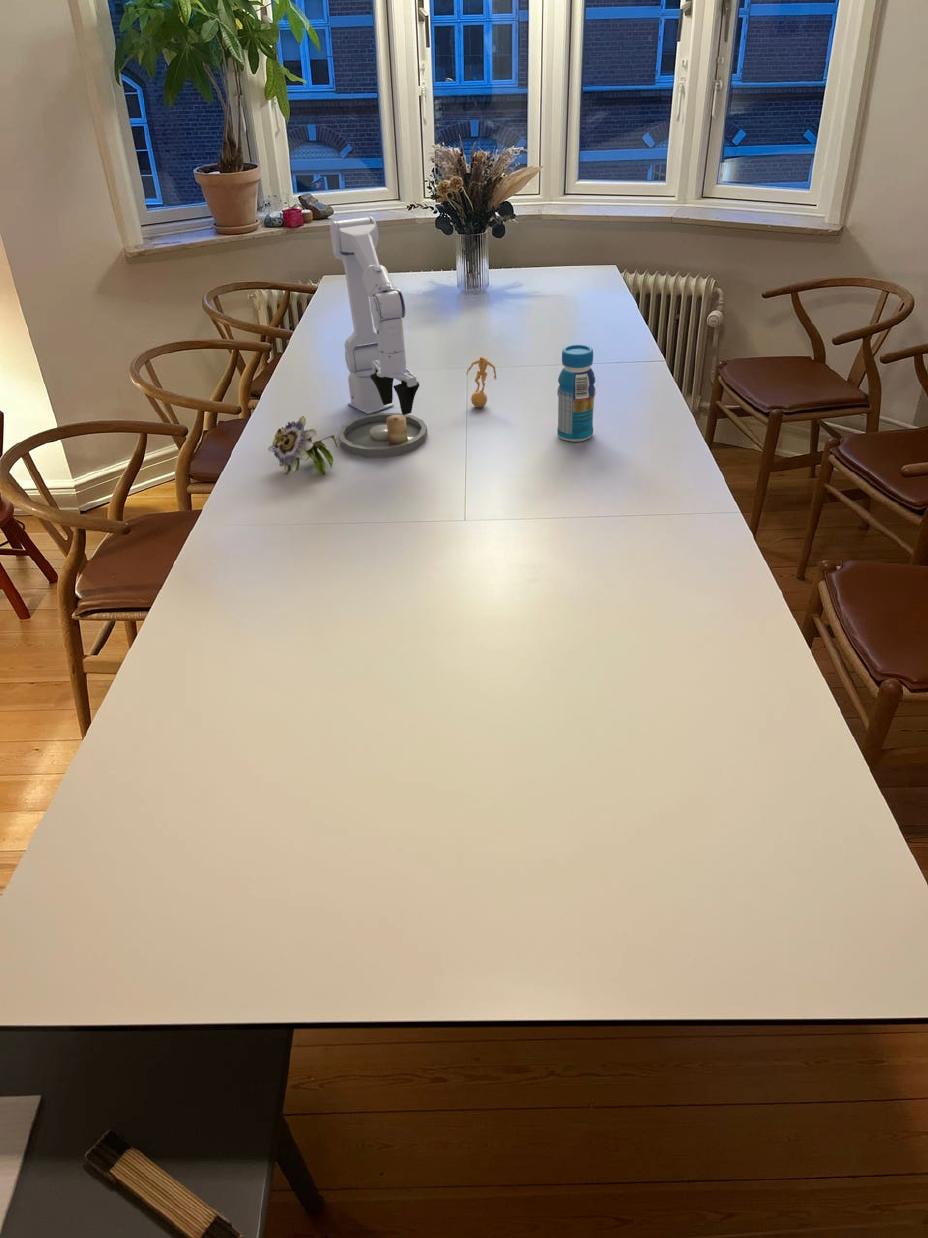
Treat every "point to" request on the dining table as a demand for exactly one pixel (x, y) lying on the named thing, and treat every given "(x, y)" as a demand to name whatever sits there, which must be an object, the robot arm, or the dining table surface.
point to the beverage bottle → (576, 394)
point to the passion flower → (299, 447)
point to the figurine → (479, 396)
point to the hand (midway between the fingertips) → (397, 408)
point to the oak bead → (396, 429)
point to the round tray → (380, 449)
